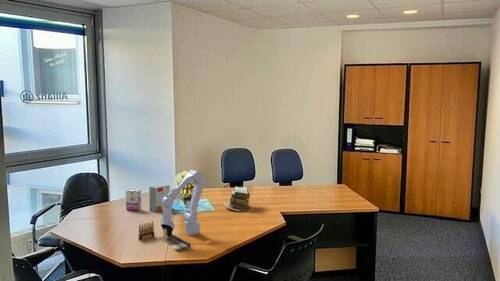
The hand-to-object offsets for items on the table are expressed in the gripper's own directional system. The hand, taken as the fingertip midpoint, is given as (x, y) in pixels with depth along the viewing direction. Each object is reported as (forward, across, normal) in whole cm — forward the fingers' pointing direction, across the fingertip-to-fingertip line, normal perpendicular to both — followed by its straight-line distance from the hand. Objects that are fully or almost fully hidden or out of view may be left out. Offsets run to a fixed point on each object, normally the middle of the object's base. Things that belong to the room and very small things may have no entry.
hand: (167, 235), depth 269 cm
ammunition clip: (+3, -8, -11) cm, 14 cm away
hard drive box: (+3, -65, +29) cm, 71 cm away
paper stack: (+3, -28, +82) cm, 86 cm away
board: (+3, +9, -1) cm, 10 cm away
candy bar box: (+3, -77, +12) cm, 78 cm away
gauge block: (+1, 0, 0) cm, 1 cm away
